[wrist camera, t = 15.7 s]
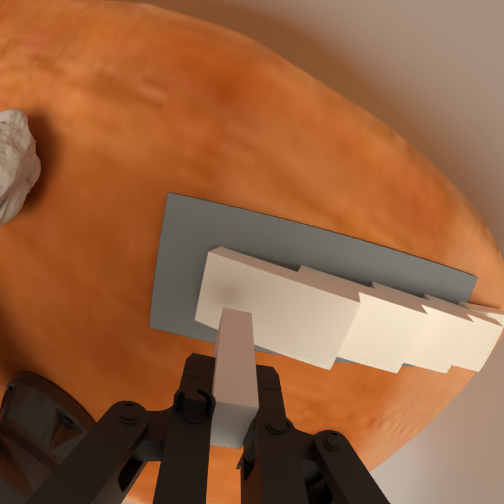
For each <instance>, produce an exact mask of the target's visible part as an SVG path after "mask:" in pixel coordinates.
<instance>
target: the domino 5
mask: <svg viewBox="0 0 504 504" xmlns="http://www.w3.org/2000/svg"><path fill="white" fill-rule="evenodd" d="M422 298H423V299H426V300H429V301H432V302H434V303H437V304H440V305H443V306H446V307H449V308H452V309H455V310H458V311H460V312H463V313H466V314H467V315H468V316H469V317H470V318H471V319H472V320H473V322H474V324H473V326H472V328H471V330H470V332H469V334H468V336H467V338H466V340H465V342H464V344H463V346H462V347H461V349H460V351H459V353H458V355H457V356H456V358H455V360H454V361H453V363H452V365H454V366H458V367H461V368H465V369H469V370H473V371H478V372H479V371H480V370H481V368H482V366H483V365H484V363H485V361H486V360H487V358H488V356H489V355H490V353H491V351H492V349H493V347H494V346H495V344H496V342H497V340H498V338H499V336H500V334H501V332H502V330H503V328H504V327H503V326H502V325H501V324H500V323H499V322H498V321H497V320H496V319H493V318H491V317H488V316H485V315H483V314H480V313H477V312H475V311H472V310H469V309H466V308H464V307H461V306H458V305H456V304H453V303H450V302H447V301H445V300H442V299H439V298H436V297H433V296H431V295H428V294H425V293H424V295H423V297H422Z"/></svg>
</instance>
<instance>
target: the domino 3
mask: <svg viewBox="0 0 504 504" xmlns="http://www.w3.org/2000/svg"><path fill="white" fill-rule="evenodd" d="M370 288H373V289H376V290H379V291H382V292H385V293H388V294H391V295H394V296H397V297H400V298H403V299H406V300H409V301H412V302H415V303H418V304H421V305H422V306H423V308H424V309H425V311H426V312H427V314H428V316H427V319H426V321H425V323H424V325H423V327H422V329H421V331H420V333H419V335H418V337H417V339H416V341H415V343H414V344H413V346H412V348H411V350H410V352H409V354H408V355H407V357H406V359H405V361H404V363H407V364H410V365H414V366H418V367H422V368H426V369H430V370H434V371H438V372H442V373H447V371H448V370H449V368H450V366H451V365H452V363H453V361H454V360H455V358H456V356H457V355H458V353H459V351H460V349H461V347H462V346H463V344H464V342H465V340H466V338H467V336H468V334H469V332H470V330H471V328H472V326H473V324H474V322H473V320H472V319H471V318H470V317H469V316H468V315H467V314H466V313H463V312H460V311H458V310H455V309H452V308H449V307H446V306H443V305H440V304H437V303H434V302H432V301H429V300H426V299H423V298H420V297H417V296H414V295H411V294H408V293H405V292H402V291H399V290H396V289H393V288H391V287H388V286H385V285H382V284H379V283H376V282H373V281H372V284H371V286H370Z"/></svg>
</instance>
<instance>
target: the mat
mask: <svg viewBox="0 0 504 504" xmlns="http://www.w3.org/2000/svg"><path fill="white" fill-rule="evenodd" d="M220 246H221V247H224V248H227V249H230V250H233V251H236V252H239V253H242V254H245V255H248V256H251V257H254V258H257V259H260V260H263V261H266V262H269V263H272V264H275V265H278V266H281V267H284V268H287V269H290V270H293V271H296V272H298V271H299V269H300V267H301V265H303V266H306V267H309V268H312V269H315V270H318V271H321V272H324V273H327V274H330V275H334V276H337V277H340V278H343V279H346V280H349V281H352V282H355V283H358V284H361V285H364V286H367V287H370V286H371V284H372V281H373V282H376V283H379V284H382V285H385V286H388V287H391V288H393V289H396V290H399V291H402V292H405V293H408V294H411V295H414V296H417V297H420V298H422V297H423V295H424V293H425V294H428V295H431V296H433V297H436V298H439V299H442V300H445V301H447V302H450V303H453V304H456V305H458V302H459V301H461V302H466V303H468V301H469V298H470V296H471V293H472V291H473V289H474V286H475V283H476V281H477V278H478V277H476V276H474V275H471V274H468V273H465V272H462V271H459V270H456V269H453V268H450V267H447V266H444V265H441V264H438V263H435V262H432V261H429V260H426V259H423V258H420V257H416V256H413V255H410V254H407V253H404V252H400V251H397V250H394V249H391V248H387V247H384V246H381V245H377V244H374V243H370V242H367V241H363V240H360V239H357V238H353V237H350V236H346V235H342V234H339V233H335V232H332V231H328V230H324V229H321V228H317V227H313V226H309V225H306V224H302V223H298V222H294V221H290V220H287V219H283V218H279V217H275V216H271V215H267V214H263V213H259V212H255V211H250V210H246V209H242V208H238V207H234V206H229V205H225V204H221V203H216V202H212V201H208V200H203V199H199V198H194V197H189V196H185V195H180V194H175V193H171V192H169V193H168V197H167V202H166V208H165V213H164V219H163V224H162V230H161V236H160V242H159V249H158V255H157V262H156V269H155V277H154V285H153V294H152V303H151V313H150V324H149V327H151V328H155V329H158V330H162V331H166V332H170V333H174V334H178V335H182V336H186V337H190V338H195V339H199V340H204V341H208V342H213V343H215V340H216V336H217V332H218V330H217V329H214V328H212V327H210V326H207V325H205V324H202V323H200V322H198V321H196V320H195V316H196V311H197V305H198V300H199V295H200V290H201V285H202V280H203V275H204V270H205V265H206V261H207V256H208V252H209V251H211V250H213V249H215V248H218V247H220ZM254 350H255V351H260V352H266V353H272V354H279V353H276V352H274V351H271V350H268V349H265V348H263V347H260V346H257V345H255V344H254ZM279 355H282V354H279ZM335 362H346V363H357V362H353V361H350V360H347V359H343V358H340V357H336V359H335ZM358 364H360V363H358ZM402 366H414V365H410V364H407V363H403V364H402Z"/></svg>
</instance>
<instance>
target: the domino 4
mask: <svg viewBox="0 0 504 504" xmlns="http://www.w3.org/2000/svg"><path fill="white" fill-rule="evenodd" d="M458 306H461V307H464V308H466V309H469V310H472V311H475V312H477V313H480V314H483V315H485V316H488V317H491V318H493V319H496V320H497V321H498V322H499V323H500V324H501V325H502V326H504V312H502V311H501V310H499V309H497V308H492V307H487V306H481V305H476V304H471V303H466V302H461V301H459V302H458Z"/></svg>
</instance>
